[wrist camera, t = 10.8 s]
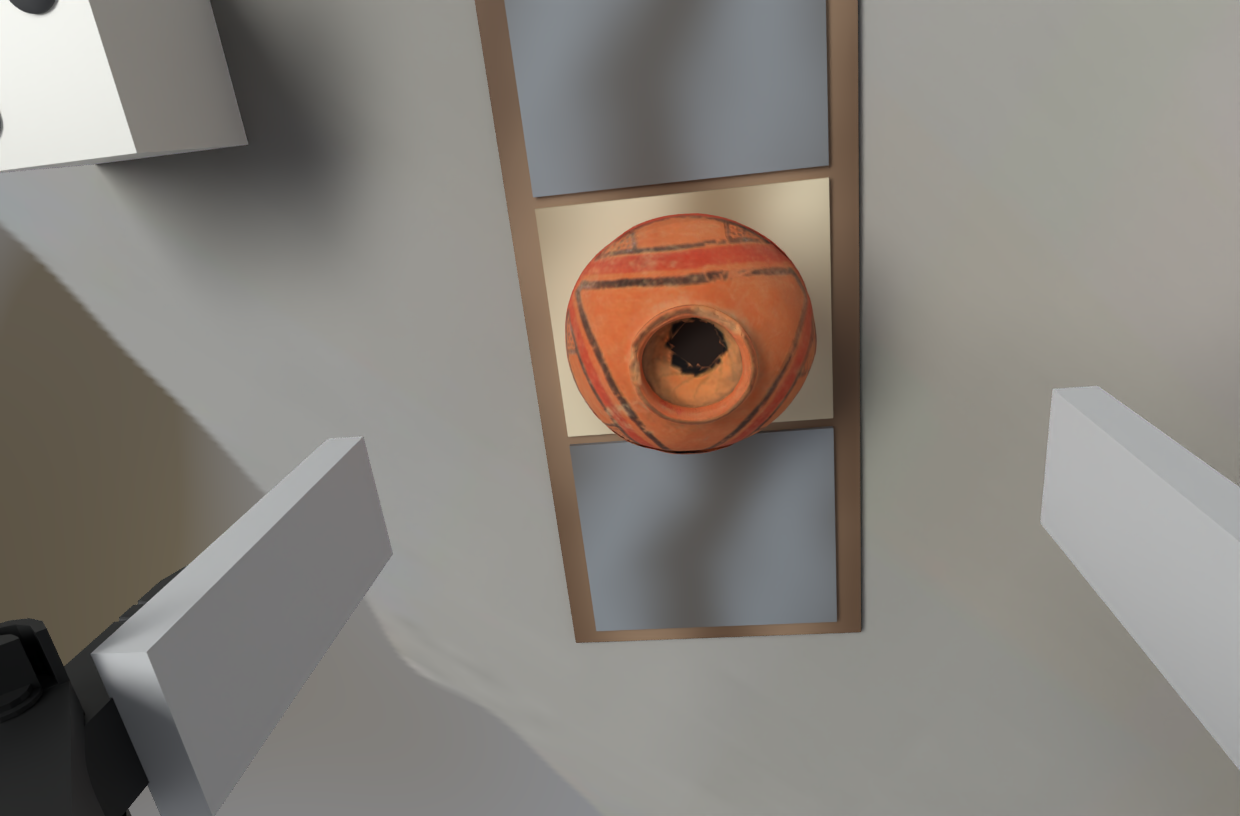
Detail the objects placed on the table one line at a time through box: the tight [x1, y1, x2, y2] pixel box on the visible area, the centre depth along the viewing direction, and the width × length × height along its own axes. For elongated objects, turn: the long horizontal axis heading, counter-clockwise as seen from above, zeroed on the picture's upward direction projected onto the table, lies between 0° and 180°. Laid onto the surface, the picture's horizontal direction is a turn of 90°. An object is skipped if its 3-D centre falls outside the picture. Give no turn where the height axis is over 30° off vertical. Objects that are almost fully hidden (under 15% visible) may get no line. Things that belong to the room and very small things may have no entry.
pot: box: [565, 213, 817, 454], centre depth 25 cm, size 8×8×7 cm
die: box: [0, 0, 248, 173], centre depth 24 cm, size 6×6×6 cm
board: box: [475, 0, 861, 643], centre depth 27 cm, size 12×37×1 cm, turn 6°
